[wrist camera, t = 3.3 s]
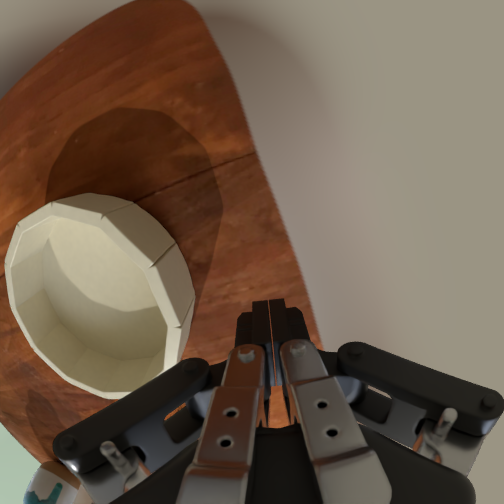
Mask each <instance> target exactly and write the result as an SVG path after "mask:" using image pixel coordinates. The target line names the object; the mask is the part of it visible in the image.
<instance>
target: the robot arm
mask: <svg viewBox="0 0 504 504" xmlns="http://www.w3.org/2000/svg"><path fill="white" fill-rule="evenodd" d="M269 306H270V316H271V326H272V336H273V346H274V357H275V367H276V378H277V386H279V385H282V389H283V400H284V405H285V409H286V414H287V418H288V423H289V426H286V427H283V428H269V419H270V395H271V386H276V385H275V373H274V361H273V350H272V339H271V329H270V319H269V309H268V300H264V301H254V302H253V303H252V312H244V313H242V314H241V315H240V316H239V317H238V319H237V328H236V338H235V347H234V349H232V350H231V351H230V353H229V355H228V359H227V360H225V361H224V362H221V363H218V364H214V365H210V366H209V364H208V362H207V361H205V360H204V359H201V358H188V359H185V360H182V361H181V362H179V363H177V364H176V365H174V366H173V367H171V368H170V369H168V370H166V371H165V372H163V373H162V374H160V375H159V376H157V377H155V378H154V379H152V380H151V381H149V382H147V383H146V384H144V385H143V386H141V387H139V388H138V389H136V390H134V391H133V392H131V393H129V394H128V395H126V396H124V397H123V398H121V399H119V400H118V401H116V402H114V403H113V404H111V405H109V406H107V407H106V408H104V409H102V410H101V411H99V412H97V413H95V414H93V415H92V416H90V417H88V418H86V419H85V420H83V421H81V422H79V423H77V424H76V425H74V426H72V427H70V428H68V429H66V430H64V431H63V432H61V433H60V434H58V435H57V436H56V438H55V439H54V441H53V452H54V454H55V455H56V456H57V457H58V458H59V459H60V460H61V461H62V462H63V463H64V464H65V465H66V466H67V468H68V469H69V470H70V471H71V472H72V473H73V474H74V475H75V476H76V477H77V478H78V479H79V480H80V482H81V484H82V485H83V487H84V488H85V490H86V491H87V493H88V494H89V496H90V497H91V499H92V500H93V502H94V503H95V504H475V503H476V495H475V490H474V487H473V485H472V483H471V482H470V480H469V479H468V478H467V476H468V474H469V472H470V470H471V468H472V466H473V463H474V461H475V459H476V457H477V455H478V453H479V450H480V448H481V445H482V443H483V440H484V439H485V438H486V436H487V435H488V434H489V432H490V431H491V429H492V428H493V427H494V425H495V424H496V422H497V421H498V419H499V418H500V416H501V414H502V413H503V411H504V399H503V397H502V396H501V395H500V394H499V393H498V392H497V391H495V390H492V389H489V388H486V387H483V386H480V385H476V384H473V383H471V382H468V381H465V380H462V379H459V378H456V377H453V376H450V375H447V374H445V373H442V372H439V371H436V370H434V369H431V368H428V367H426V366H423V365H420V364H417V363H415V362H412V361H409V360H407V359H404V358H401V357H399V356H396V355H394V354H391V353H389V352H386V351H384V350H381V349H378V348H376V347H373V346H371V345H368V344H366V343H363V342H349V343H346V344H344V345H342V346H341V347H340V348H339V349H338V352H325V351H321V350H319V349H317V348H316V346H315V344H314V343H313V342H311V340H310V337H309V334H308V330H307V327H306V324H305V321H304V317H303V314H302V312H301V311H300V310H299V309H298V308H296V307H291V308H286V306H285V302H284V298H282V299H273V300H269ZM368 385H370V386H372V387H374V388H376V389H378V390H381V391H383V392H385V393H387V394H388V395H390V397H391V398H392V399H390V398H388V397H386V396H383V395H381V394H379V393H377V392H375V391H373V390H371V389H368ZM184 402H185V404H186V406H185V407H184V408H182V409H181V410H180V411H178V412H177V413H175V414H174V415H173V416H171V417H170V418H168V419H167V420H165V421H164V419H165V417H166V416H167V415H168V414H169V413H170V412H172V411H173V410H175V409H176V408H178V407H179V406H180V405H182V404H183V403H184ZM357 421H358V422H360V423H362V424H364V425H366V426H364V425H361V424H358V423H357ZM382 434H383V435H382ZM384 435H385V436H384ZM386 436H387V437H386ZM388 437H389V438H388ZM198 438H199V440H197V439H198ZM390 438H391V439H390ZM392 439H393V440H395V441H397V442H399V443H401V444H403V445H406V446H408V447H410V448H412V449H413V450H411V449H409V448H407V447H405V446H403V445H401V444H399V443H397V442H395V441H393V440H392ZM196 440H197V441H196ZM161 466H162V467H161ZM158 468H159V469H158ZM157 469H158V470H157ZM154 471H155V472H154ZM153 472H154V473H153ZM151 473H152V474H151ZM150 474H151V475H150Z"/></svg>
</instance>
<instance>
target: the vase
mask: <svg viewBox="0 0 504 504" xmlns="http://www.w3.org/2000/svg"><path fill="white" fill-rule="evenodd" d="M80 485H81V482H80V480H79V479H78V478H77V477H76V476H75V475H74V474H73V473H72V472H71V471H70V470H69V469H68V468H67V467H65V466H64V465H62V464H60V463H57V462H54V461H47V462H44V463H43V464H42V465H41V466H40V467H39V468H38V469H37V471H36V472H35V474H34V476H33V477H32V479H31V481H30V483H29V485H28V488H27V490H26V493H25V496H24V500H23V502H24V504H73V502H74V500H75V497H76V495H77V492H78V490H79V487H80Z"/></svg>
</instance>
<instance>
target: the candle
mask: <svg viewBox="0 0 504 504" xmlns="http://www.w3.org/2000/svg"><path fill="white" fill-rule="evenodd" d="M73 504H95V503H94V502H93V500H92V499H91V497H90V496H89V494H88V493H87V491H86V490H85V488H84V487H83V485H82V484H81V485H80V487H79V490H78V492H77V495H76V497H75V500H74V502H73Z"/></svg>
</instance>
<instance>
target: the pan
mask: <svg viewBox="0 0 504 504" xmlns="http://www.w3.org/2000/svg"><path fill="white" fill-rule="evenodd" d="M4 265H5V274H6V282H7V290H8V296H9V302H10V306H11V307H12V308H11V310H12V312H13V314H14V316H15V318H16V320H17V322H18V324H19V326H20V327H21V329H22V331H23V333H24V335H25V337H26V338H27V340H28V342H29V344H30V345H31V347H32V348H34V351H35V352H36V353H37V354H38V355H39V356H40V357H41V358H42V359H43V360H44V361H45V362H46V363H47V364H48V365H49V366H50V367H51V368H52V369H53V370H54V371H55V372H57V373H58V374H59V375H60V376H61V377H62V378H63V379H64V380H67V382H69V383H71V384H73V385H75V386H77V387H80V388H82V389H84V390H86V391H88V392H91V393H93V394H95V395H98V396H100V397H103V398H107V399H121V398H123V397H124V396H126V395H128V394H129V393H131V392H133V391H134V390H136V389H138V388H139V387H141V386H143V385H144V384H146V383H147V382H149V381H151V380H152V379H154V378H155V377H157V376H159V375H160V374H162V373H163V372H165V371H166V370H168V369H170V368H171V367H173V366H174V365H176V364H177V363H179V362H180V359H181V356H182V354H183V351H184V348H185V345H186V342H187V340H188V337H189V331H190V325H191V320H192V316H193V309H194V302H195V297H196V296H195V291H194V288H193V285H192V279H191V276H190V273H189V269H188V266H187V264H186V262H185V259H184V257H183V255H182V253H181V251H180V250H179V248H178V245H177V243H175V240H174V239H173V238H172V237H171V236H170V234H169V233H168V232H167V230H166V229H165V228H164V227H163V226H162V225H161V224H160V223H159V222H158V221H157V220H156V219H155V218H154V217H152V216H151V215H150V214H149V213H148V212H146V211H145V210H143V209H142V208H140V207H139V206H138V205H137V204H133V202H131V201H127V200H124V199H121V198H118V197H114V196H108V195H99V194H94V193H85V194H80V195H76V196H72V197H68V198H64V199H60V200H56V201H52V202H50V203H48V204H46V205H44V206H43V207H41V208H39V209H38V210H36V211H35V212H33V213H31V214H30V215H28V216H27V217H25V218H24V219H22V220H20V221H19V222H18V224H17V226H16V228H15V231H14V234H13V237H12V240H11V242H10V246H9V249H8V252H7V255H6V258H5V264H4ZM164 421H165V420H164Z"/></svg>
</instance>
